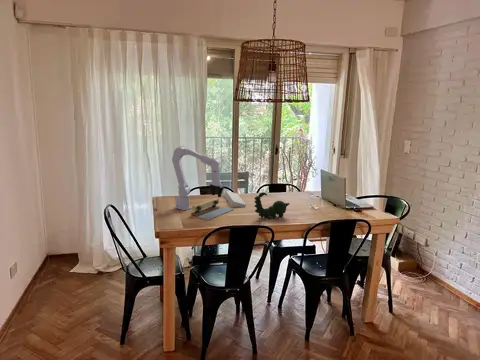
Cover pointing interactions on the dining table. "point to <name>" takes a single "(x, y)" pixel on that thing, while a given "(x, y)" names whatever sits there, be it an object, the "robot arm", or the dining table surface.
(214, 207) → the rail stand
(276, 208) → the toy figurine
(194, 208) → the rail
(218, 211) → the mat
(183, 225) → the dining table surface
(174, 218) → the dining table surface
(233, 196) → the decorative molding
